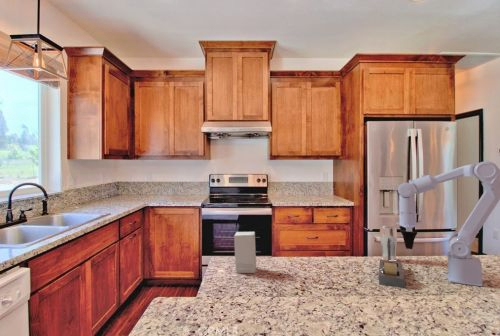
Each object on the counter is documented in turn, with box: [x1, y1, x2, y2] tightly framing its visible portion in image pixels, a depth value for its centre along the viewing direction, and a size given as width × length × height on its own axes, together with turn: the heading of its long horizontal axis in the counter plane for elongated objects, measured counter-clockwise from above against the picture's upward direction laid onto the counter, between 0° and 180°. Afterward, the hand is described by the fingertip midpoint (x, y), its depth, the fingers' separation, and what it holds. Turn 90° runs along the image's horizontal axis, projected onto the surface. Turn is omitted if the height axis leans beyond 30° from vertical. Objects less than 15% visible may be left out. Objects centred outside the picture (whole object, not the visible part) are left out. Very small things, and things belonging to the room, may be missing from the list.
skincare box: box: [233, 231, 257, 274], centre depth 111 cm, size 8×7×16 cm
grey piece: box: [378, 258, 406, 289], centre depth 103 cm, size 8×20×3 cm, turn 153°
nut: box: [384, 262, 397, 276], centre depth 98 cm, size 4×4×6 cm
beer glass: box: [379, 225, 398, 260], centre depth 122 cm, size 7×7×15 cm
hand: (408, 246), depth 108 cm, fingers open, 7 cm apart
